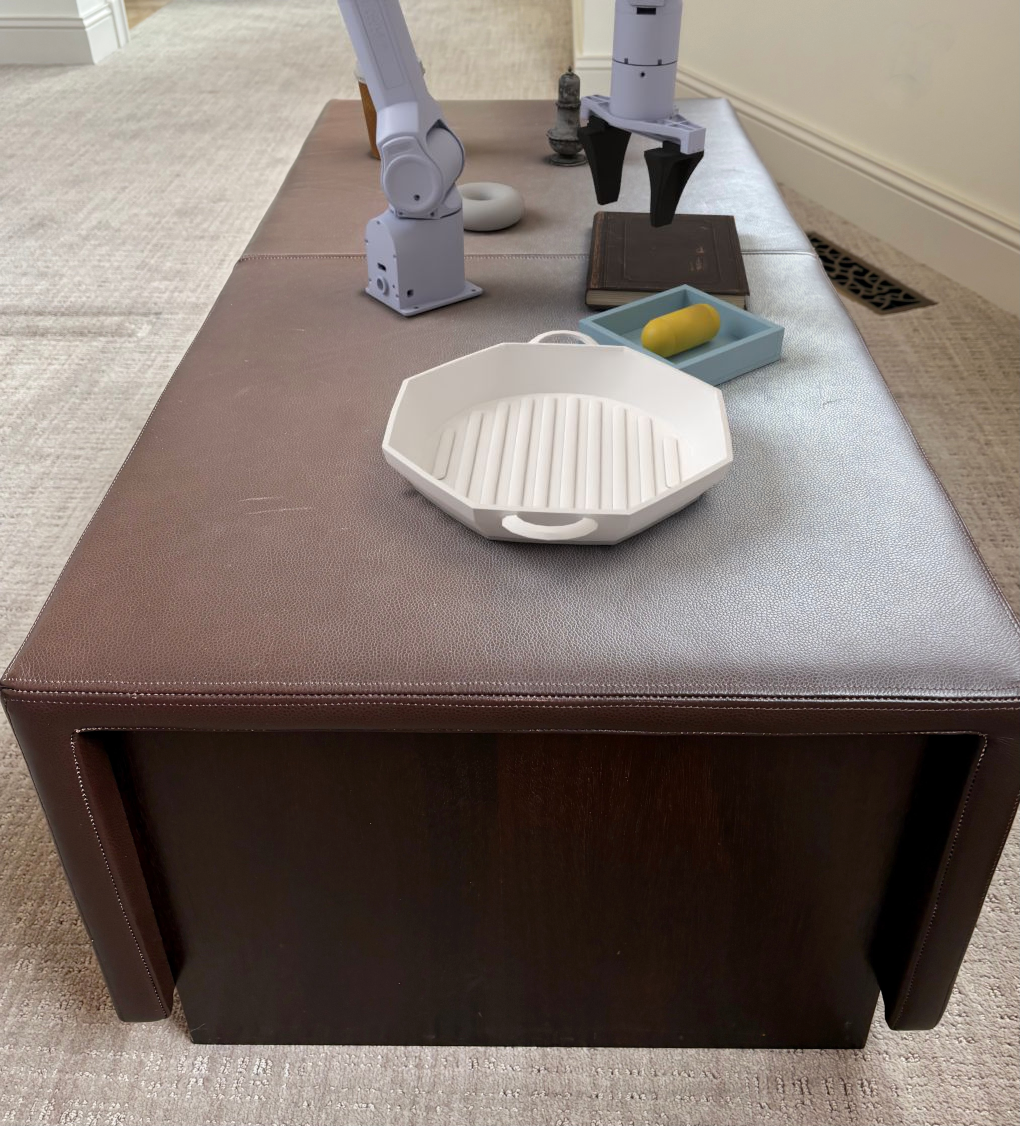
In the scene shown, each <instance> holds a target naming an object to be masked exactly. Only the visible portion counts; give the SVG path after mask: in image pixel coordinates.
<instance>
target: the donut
mask: <svg viewBox="0 0 1020 1126" xmlns="http://www.w3.org/2000/svg"><path fill="white" fill-rule="evenodd" d="M456 187H457V190H458V192H459V194H460V196H461V197H462V200H463V205H462V206H463V230H467V231H475V232H489V231H496V230H497V231H498V230H502V229H505V228H508V227H511V226H513V225H515V224H517V223H518V222H519V221H520V220H521V218H522V217H523V215H524V213H525V210H526V205H525V204H526V203H525V198H524V197H523V195H522V193H520V192H519V191H518V190H517V189H516V188H514V187H512V186H509V185H507V184H503V183H497V182H489V181H478V182H476V181H475V182H469V183H464V184H460V185H458V186H457V185H456Z"/></svg>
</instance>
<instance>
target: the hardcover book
mask: <svg viewBox="0 0 1020 1126" xmlns="http://www.w3.org/2000/svg"><path fill="white" fill-rule="evenodd" d="M587 263H588V264H587V271H586V281H585V289H584V297H583V299H584V304H585V307H587V308H588V309H590V310H605V311H608V310H611V309H614V308H617V307H620V306H623V305H626V304H629V303H632V302H635V301H638V300H641V299H644V298H646V297H649V296H652V295H655V294H658V293H661V292H664V291H667V290H670V289H673V288H676V287H679V286H682V285H685V284H686V285H688V286H691V287H693V288H695V289H697V290H700V291H702V292H704V293H707V294H709V295H711V296H713V297H716V298H718V299H720V300H722V301H725V302H727V303H729V304H732V305H734V306H736V307H738V308H741V309H743V310H745V311H747V312H748V308H747V304H746V297H751V291H750V287H749V282H748V277H747V272H746V268H745V263H744V257H743V254H742V248H741V244H740V238H739V234H738V229H737V225H736V219H735V215H733V214H731V215H730V214H701V213H700V214H699V213H675V214H674V217H673V220H672V223H671V224H669V225H665V226H662V227H658V228H655V227H653V226H651V221H650V212H638V211H637V212H635V211H610V210H609V211H605V210H599V211H597V212H596V213H594V215H593V219H592V226H591V236H590V244H589V254H588V262H587Z"/></svg>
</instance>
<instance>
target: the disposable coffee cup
mask: <svg viewBox="0 0 1020 1126" xmlns="http://www.w3.org/2000/svg"><path fill="white" fill-rule="evenodd" d="M417 59H418V62H419V65H420V68H421V71H422V74H423V77H424V78H425V74H426V69H425V67H424V66H423V61H422V58H420V57H419V56H417ZM353 75H354V76H355V79H356V81H357V83H358V84H357V85H358V88H359V93H360V98H361V104H362V109H363V113H364V119H365V125H366V130H367V133H368V139H369V145H370V149H371V154H372V156H373V157H374V158H375V159H379V160H381V157H380V154H379V151H378V148H377V145H376V131H377V112H376V110H375V107H374V104H373V101H372V98H371V95H370V93H369V90H368V87H367V84H366V81H365V78H364V76H363V73H362V70H361V67H360V64H359V61H358V59H356V61H355V69H354V70H353Z"/></svg>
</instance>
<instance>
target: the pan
mask: <svg viewBox="0 0 1020 1126" xmlns="http://www.w3.org/2000/svg"><path fill="white" fill-rule="evenodd" d="M553 338H571V339H575V340H577V341H578V340H580V341H583V342H584V343H585V344H578V343H557V342H553V343H551V342H545V341H548V340H551V339H553ZM724 400H725V399H724V397H723V392H722V390H721V389H719V388H717V387H715V386H711V385H709V384H707V383H705V382H703V381H701V380H699V379H697V378H695V377H693V376H691V375H689V374H686V373H684V372H682V371H680V370H678V369H676V368H673V367H671V366H669V365H667V364H665V363H663V362H661V361H658V360H656V359H654V358H652V357H650V356H647V355H645V354H643V353H640V352H638V351H636V350H634V349H631V348H629V347H627V346H611V345H599V344H598V343H597V342H596V341H595V340H593V339H592V338H591V337H590V336H588V335H585V334H582V333H580V332H579V331H574V330H567V329H561V330H560V329H559V330H550V331H546V332H543V333H539V334H538V335H536V336H535V337H534V338H532V339H531V340H530V341H528V342H501V343H498V344H494V345H492V346H489V347H486V348H483V349H480V350H477V351H475V352H471V353H469V354H467V355H463V356H461V357H458V358H456V359H453V360H450V361H447V362H445V363H443V364H440V365H438V366H435V367H433V368H429V369H427V370H425V371H422V372H420V373H418V374H415V375H413V376H410V377H408V378H405V379H403V380H402V383H401V386H400V388H399V391H398V393H397V396H396V398H395V400H394V403H393V406H392V409H391V411H390V414H389V418H388V422H387V424H386V428H385V433H384V437H383V440H382V444H381V449H382V453H383V456H384V458H385V461H386V463H387V464H388V465H389V466H391V467H392V468H393V469H394V470H395V471H396V472H398V473H399V474H400V475H401V476H402V477H403V478H405V479H406V480H407V481H408V482H409V483H411V484H412V488H413V489H414V490H416V491H417V492H418V493H419V494H421V495H422V496H423V497H424V498H426V499H427V500H428V501H429V502H430V503H432V504H433V505H435V506H436V507H437V508H439V509H440V510H442V511H443V512H444V513H445V514H447V515H448V516H450V517H452V518H453V519H455V520H456V521H457V522H458V523H460V524H462V525H464V526H465V527H467V528H468V529H470V530H472V531H474V532H475V533H477V534H478V535H480V536H482V537H484V538H485V539H487V540H492V541H493V540H494V541H505V542H516V543H533V544H534V543H535V544H554V545H556V544H557V545H595V546H596V545H607V546H608V545H611V546H612V545H613V546H615V545H617V544H619V543H621V542H623V541H625V540H627V539H630V538H631V537H634V536H636V535H638V534H640V533H642V532H644V531H646V530H648V529H649V528H651V527H653V526H655V525H657V524H658V523H660V522H662V521H664V520H666V519H668V518H670V517H672V516H673V515H675V514H677V513H679V512H680V511H682V510H684V509H685V508H687V507H689V506H690V505H691V504H693V503H694V502H696V501H697V500H699V499H700V497H701V495H703V494H704V493H705V492H706V491H708V490H709V489H711V488H712V487H713V486H715V485H716V484H717V483H718V482H720V481H721V480H722V479H724V478H725V477H727V476H728V475H729V472H730V469H731V467H732V465H733V463H734V452H733V443H732V437H731V431H730V427H729V420H728V415H727V408H726V403H725V401H724Z"/></svg>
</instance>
